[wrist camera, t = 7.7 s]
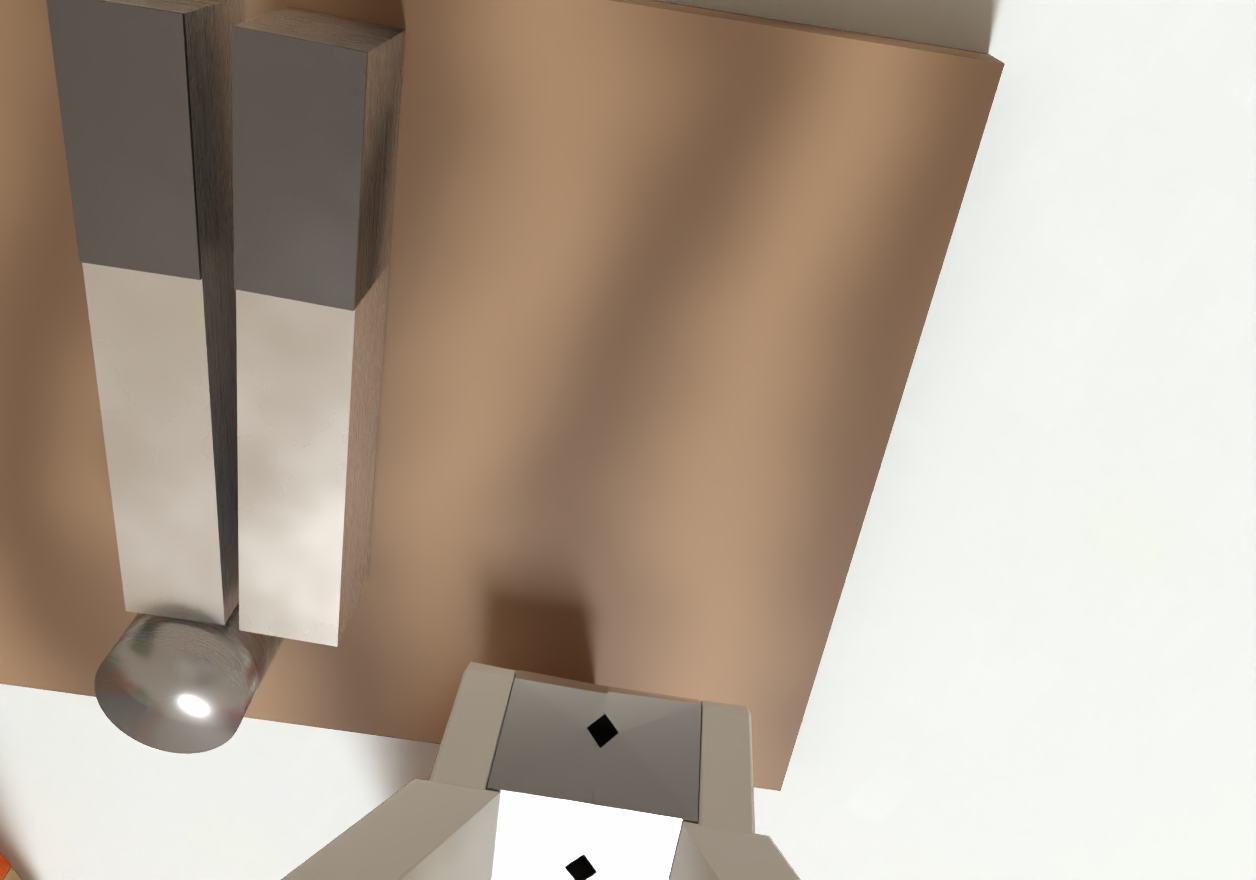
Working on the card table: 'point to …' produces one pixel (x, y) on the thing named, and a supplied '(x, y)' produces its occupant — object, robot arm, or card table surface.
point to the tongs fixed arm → (159, 282)
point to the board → (553, 356)
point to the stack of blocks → (7, 870)
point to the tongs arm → (288, 371)
